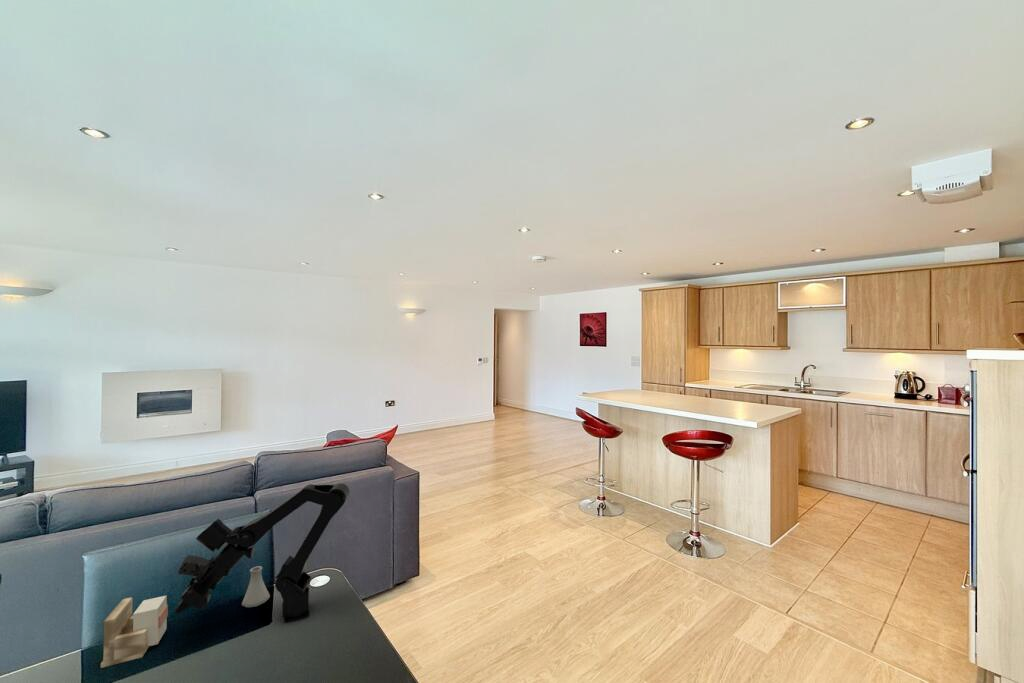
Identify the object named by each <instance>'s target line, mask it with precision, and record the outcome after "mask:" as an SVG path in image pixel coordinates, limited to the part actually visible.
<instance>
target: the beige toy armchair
mask: <svg viewBox="0 0 1024 683" xmlns="http://www.w3.org/2000/svg"><path fill="white" fill-rule="evenodd" d="M149 648H150V646H148V647H147V629H144V630H140V631H136V632H133V596H132V597H126V598H123V599H122V600H121V601H120V602H119V603H118V604H117V605H116V606H115V608H114V609H113V610H112V611H111V612H110V614H108V616H107V617H106V618H105V619H104V621H103V660H102V661H101V663H100V669H102V668H103V669H104V668H107V667H111V666H114V665H117V664H121V663H125V662H130V661H133V660H136V659H141V658H143V657H144V655H145V654H146V652H147V650H148V649H149Z"/></svg>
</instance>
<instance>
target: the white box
mask: <svg viewBox="0 0 1024 683" xmlns="http://www.w3.org/2000/svg"><path fill="white" fill-rule="evenodd" d="M167 599H168V598H167V594H166V595H163V596H158V597H154V598H148V599H144V600H142V602H141V603H140V604H139V606H138V607H137V609H136V610H135V611H134V612H133V613H132V616H133V632H136V631H140V630H144V629H147V647H148V646H149V647H152V646H155V645H159V643H160V640H162V637H163V636H164V634H165V632H166V630H167V617H168V616H169V615H168V614H169V608H168V607H169V604H167V602H168V600H167ZM149 647H148V648H149Z"/></svg>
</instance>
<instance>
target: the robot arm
mask: <svg viewBox="0 0 1024 683" xmlns="http://www.w3.org/2000/svg"><path fill="white" fill-rule="evenodd" d="M350 493H351V491H350V489H349V486H347V485H346V484H344V483H335V484H311V483H310V484H307V485H305V486H303V488H302V489H300V490H299V491H297V492H296V493H295V494H294V495H293V496H291V497H289V498H288V499H286V500H285V501H284V502H282V503H281V504H280V505H278V506H276V508H274V509H273V510H272V511H270V512H267V513H266V514H263V515H260V516H259V517H257V518H254V519H253V520H251V521H249V522H248V523H246V524H244V525H241V526H237V527H234V529H231V528H229V526H227V525H226V524H224V522H223V521H222V520H221V519H219V518H217V519H216V520H214V521H213V523H211V524H210V525H209V526H208V527H207V528H206V529H204V530H203V531H201V532H200V534H198V536H196V538H195V540H196V541H197V542H199V543H200V544H201V545H202V546H204V548H206V549H207V550H209V551H210V552H213V553H214V552H215V551H219V550H220V549H222V548H223V549H222V550H220V552H219V553H217V555H214V556H212V557H211V558H210V559H207V558H205V557H201V556H195V555H187V556H186V557H184V560H183V561H182V564H181V565H180V567H179V569H178V570H177V573H178V575H186V576H190V577H191V579H190V581H189V584H187V586H186V587H185V591H183V593H182V594H181V596H180V599H181V601H180V602H179V604H178V605H177V608H175V610H174V613H176V614H180V613H182V612H184V611H185V610H188V609H189V608H191V607H193V608H195V609H196V610H198V611H201V610H203V609H204V608H205V606H207V605H208V603H209V602H210V601H209V600H210V599H211V590H212V591H214V590H215V589H216V588H217V586H218V585H219V583H220V582H221V581H222V580H223V579H224V578H225V577H228V575H229V574H230V572H231V570H232V569H233V568H234V567H235V566H236V565H237V564H238V563H239V562H240V561H241V560H242V559H243V558H244V557H247V558H248V559H251V558H253V556H254V555H255V544H256V543H258V542H259V541H260V540H261V539H262V538H263V536H265V535H266V534H267V533H268V532H269V531H270V529H271V528H273V527H274V526H275V525H277V524H278V523H280V522H281V521H282V520H284V519H285V518H286V517H287V516H289V515H290V514H291V513H293V512H294V511H296V510H298V508H300V507H301V506H303V505H304V504H306V503H307V502H309V503H314V504H317V505H321V508H320V512H319V514H318V517H317V519H316V520H315V522H314V524H312V527H311V529H310V530H309V531H308V533H307V535H306V537H305V539H304V540H303V542H302V544H301V545H300V547H299V549H298V550H297V553H296V554H295V555H294V556H292V555H288V556H287V559H285V561H284V562H283V563H282V565H281V568H280V570H279V571H278V573H277V574H276V576H274V578H275V579H276V580H275V582H274V587H275V589H276V591H278V592H279V593H280V595H281V598H282V602H281V603H282V604H281V605H282V606H281V608H282V610H281V614H282V618H283V623H289V622H292V621H297V620H300V619H304V618H307V617H309V616H310V612H311V611H310V607H311V606H310V605H311V604H310V587H309V585H310V584H311V581H312V576H311V575H310V574H308V573H307V572H305V570H306V567H307V564H308V560H309V557H310V556H311V554H312V553H313V551H314V549H315V547H316V546H317V544H318V542H319V541H320V538H321V536H323V535H324V531H326V529H327V527H328V525H329V523H330V522H331V520H332V519H333V518H334V517H335V515H336V514H337V513H338V512H339V511H340V510H341V508H342V507H343V506H344V504H345V502H346V501H347V500H348V499H349V496H350ZM224 545H225V546H224Z"/></svg>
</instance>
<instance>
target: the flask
mask: <svg viewBox="0 0 1024 683" xmlns="http://www.w3.org/2000/svg"><path fill="white" fill-rule="evenodd" d="M262 570H263V566H261V565H260V566H258V565H257V566H254V567H252V568H251V569H249V573H250V579H249V583H248V586H247V589H246V592H245V594H244V597H243V599H242V602H241V606H242V607H245V608H253V607H258V606H261V605H262V604H264V603H266V602H267V601H268V600H269V599H270V597H271V595H270V592H269V591H268V589H267V587H266V584H265V582H264V579H263V576H262Z"/></svg>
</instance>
